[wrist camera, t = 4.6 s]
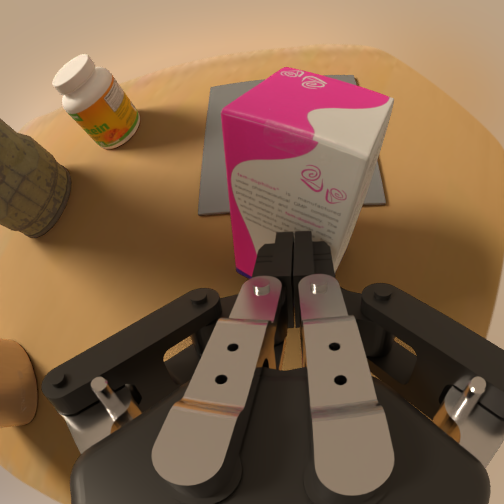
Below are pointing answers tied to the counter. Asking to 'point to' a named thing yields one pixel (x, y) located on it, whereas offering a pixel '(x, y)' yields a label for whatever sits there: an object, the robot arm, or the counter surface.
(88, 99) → the supplement bottle
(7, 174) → the thermos
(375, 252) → the counter surface
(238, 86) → the rubber mat
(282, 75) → the supplement box
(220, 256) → the counter surface
